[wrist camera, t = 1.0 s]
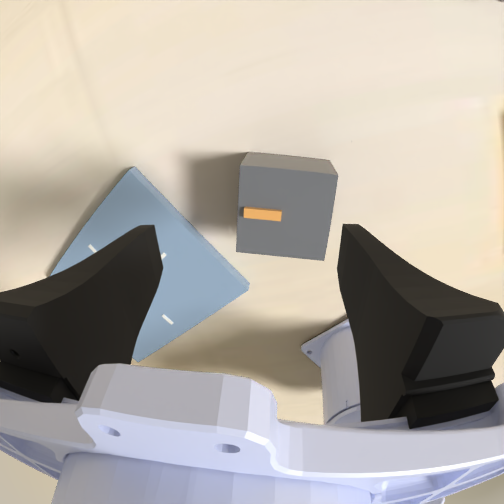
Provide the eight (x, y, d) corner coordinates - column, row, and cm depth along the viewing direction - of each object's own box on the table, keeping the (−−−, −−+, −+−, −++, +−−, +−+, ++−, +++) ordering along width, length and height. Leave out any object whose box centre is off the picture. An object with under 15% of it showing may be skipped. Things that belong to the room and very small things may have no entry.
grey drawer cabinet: (329, 160, 21) (339, 176, 17) (319, 233, 24) (324, 263, 20) (248, 152, 21) (239, 166, 18) (244, 226, 24) (235, 254, 20)
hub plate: (249, 283, 26) (244, 310, 23) (141, 355, 33) (129, 379, 29) (134, 166, 23) (111, 180, 19) (52, 274, 29) (33, 294, 26)
